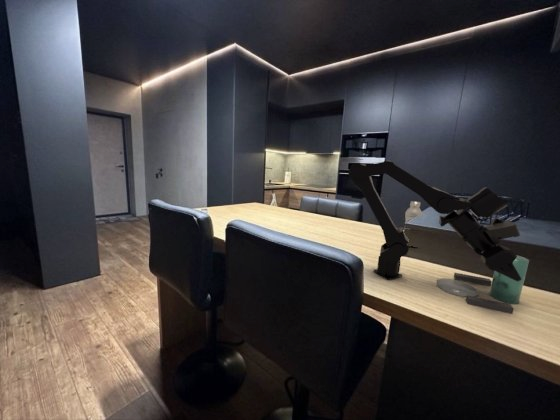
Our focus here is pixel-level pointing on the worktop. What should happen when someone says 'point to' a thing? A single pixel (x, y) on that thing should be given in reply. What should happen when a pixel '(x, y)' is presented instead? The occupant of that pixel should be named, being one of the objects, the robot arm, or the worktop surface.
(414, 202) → the plastic bottle
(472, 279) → the cord left
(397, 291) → the worktop surface
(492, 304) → the cord right
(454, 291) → the slate coaster
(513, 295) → the tin canister
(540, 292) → the worktop surface
